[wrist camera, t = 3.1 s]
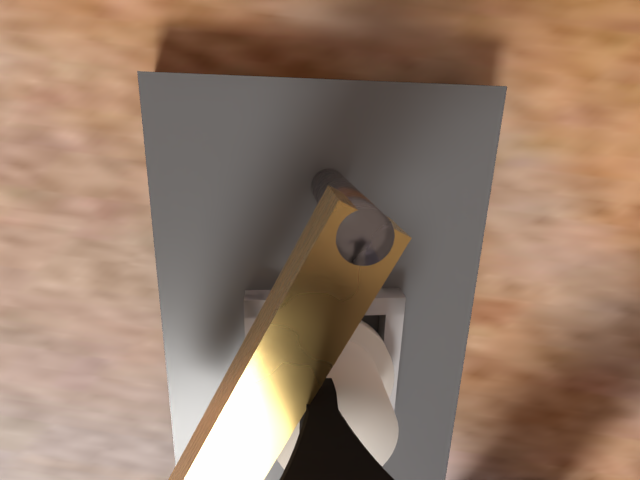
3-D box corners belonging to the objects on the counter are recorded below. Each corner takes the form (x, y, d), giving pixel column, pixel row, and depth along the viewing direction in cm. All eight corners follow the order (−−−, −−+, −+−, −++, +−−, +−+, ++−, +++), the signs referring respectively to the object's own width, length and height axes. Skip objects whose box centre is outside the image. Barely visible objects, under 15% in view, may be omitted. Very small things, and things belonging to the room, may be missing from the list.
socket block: (431, 450, 24) (452, 496, 21) (187, 465, 22) (174, 516, 19) (482, 89, 18) (521, 84, 15) (153, 76, 16) (127, 68, 13)
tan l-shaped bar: (206, 454, 19) (169, 632, 13) (166, 441, 19) (106, 619, 12) (358, 182, 16) (416, 231, 10) (314, 158, 16) (343, 192, 9)
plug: (377, 405, 20) (409, 496, 15) (259, 410, 19) (253, 507, 15) (387, 298, 18) (426, 363, 13) (257, 300, 18) (250, 370, 13)
